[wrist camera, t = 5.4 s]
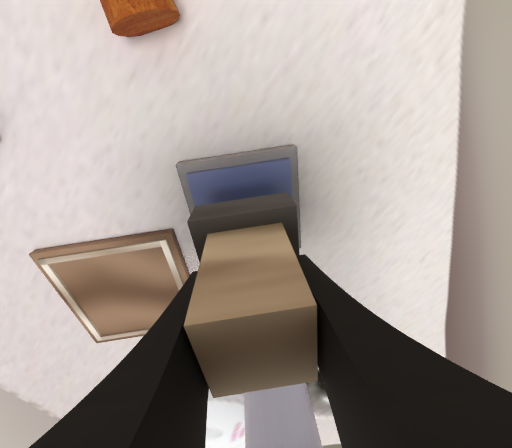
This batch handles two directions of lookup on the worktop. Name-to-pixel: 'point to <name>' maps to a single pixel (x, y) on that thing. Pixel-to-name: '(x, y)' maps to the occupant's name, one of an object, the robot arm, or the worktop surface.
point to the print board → (116, 281)
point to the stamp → (251, 297)
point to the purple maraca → (139, 15)
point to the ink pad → (241, 177)
